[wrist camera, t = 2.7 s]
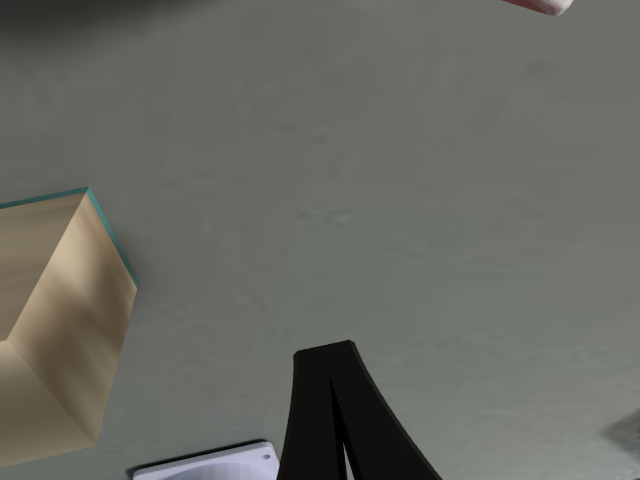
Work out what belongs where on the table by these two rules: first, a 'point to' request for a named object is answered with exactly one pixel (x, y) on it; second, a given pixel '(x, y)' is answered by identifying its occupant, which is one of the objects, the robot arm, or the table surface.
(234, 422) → the table surface
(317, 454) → the robot arm
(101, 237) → the beech block
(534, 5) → the small box
